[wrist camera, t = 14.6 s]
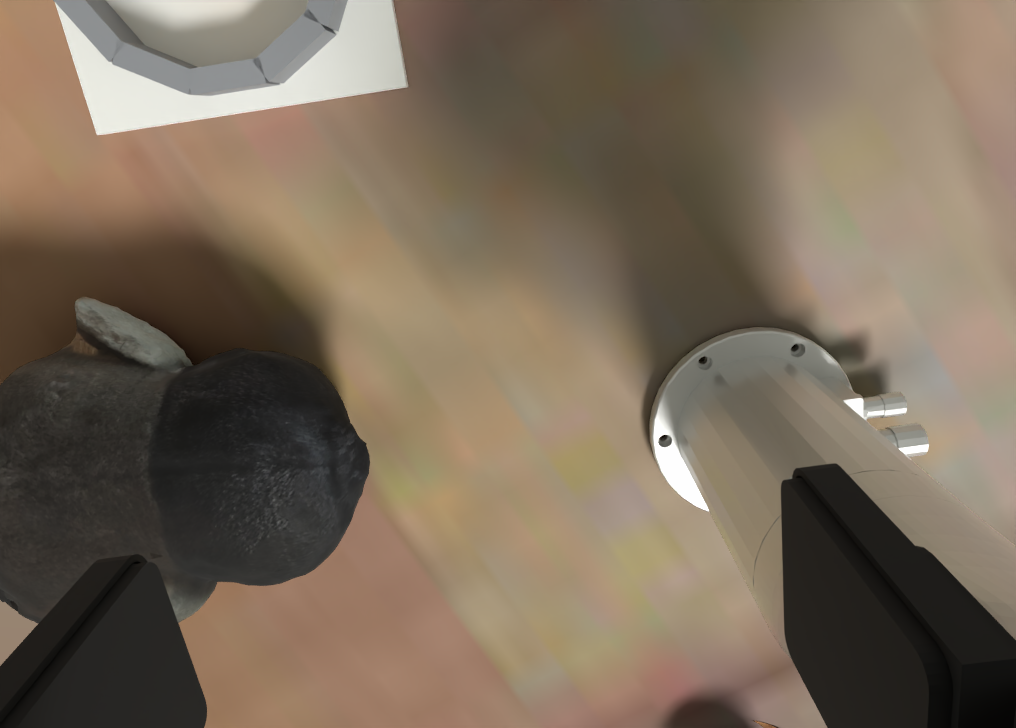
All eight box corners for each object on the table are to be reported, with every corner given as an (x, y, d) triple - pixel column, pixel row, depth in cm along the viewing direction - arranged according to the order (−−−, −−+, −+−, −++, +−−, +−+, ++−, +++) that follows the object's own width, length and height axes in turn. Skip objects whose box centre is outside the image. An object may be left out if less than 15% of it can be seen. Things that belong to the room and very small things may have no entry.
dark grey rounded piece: (81, 336, 50) (-108, 299, 36) (377, 277, 47) (290, 214, 34) (109, 632, 47) (-81, 707, 34) (423, 585, 45) (348, 646, 32)
